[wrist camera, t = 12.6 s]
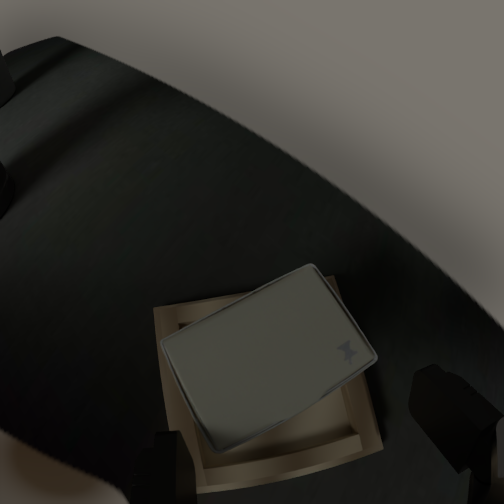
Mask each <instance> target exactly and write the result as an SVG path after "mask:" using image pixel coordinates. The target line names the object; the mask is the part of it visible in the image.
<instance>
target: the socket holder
mask: <svg viewBox="0 0 504 504" xmlns="http://www.w3.org/2000/svg"><path fill="white" fill-rule="evenodd" d="M324 278H325V279H326V280H327V281H328V283H329V284H330V285H331V287H332V288H333V289H334V291H335V292H336V294H337V295H338V297H339V298H340V299H341V301H342V298H341V295H340V292H339V289H338V286H337V283H336V280H335V277H334V275H333V276H328V277H324ZM250 292H251V291H250ZM250 292H244V293H239V294H233V295H228V296H222V297H216V298H210V299H204V300H198V301H192V302H186V303H180V304H174V305H167V306H161V307H155V308H153V309H154V320H155V330H156V340H157V349H158V357H159V365H160V373H161V380H162V387H163V394H164V400H165V406H166V412H167V418H168V424H169V430H170V431H174V430H180V432H181V434H182V436H183V438H184V440H185V443H186V445H187V447H188V450H189V452H190V454H191V456H192V459H193V462H194V466H195V472H196V491H197V493H207V492H216V491H224V490H232V489H238V488H245V487H251V486H256V485H262V484H267V483H272V482H276V481H281V480H286V479H290V478H294V477H298V476H302V475H306V474H310V473H313V472H317V471H320V470H324V469H327V468H331V467H334V466H337V465H340V464H343V463H346V462H349V461H352V460H355V459H358V458H361V457H364V456H366V455H369V454H372V453H374V452H377V451H379V450H382V449H383V445H382V441H381V437H380V432H379V428H378V424H377V420H376V416H375V412H374V408H373V404H372V400H371V397H370V393H369V389H368V385H367V382H366V378H365V374H364V371H362V372H361V373H360V374H358V375H357V376H356V377H354V378H353V379H351V380H350V381H349V382H347V383H346V384H344V385H343V386H341V387H340V388H338V389H337V390H335V391H334V392H332V393H331V394H329V395H328V396H326V397H325V398H323V399H322V400H320V401H318V402H317V403H315V404H314V405H312V406H310V407H309V408H307V409H306V410H304V411H302V412H301V413H299V414H297V415H296V416H294V417H292V418H291V419H289V420H287V421H285V422H283V423H282V424H280V425H278V426H276V427H275V428H273V429H271V430H269V431H267V432H265V433H263V434H261V435H259V436H257V437H255V438H253V439H251V440H249V441H247V442H245V443H243V444H241V445H239V446H237V447H235V448H233V449H231V450H228V451H226V452H224V453H221V454H218V453H214V452H212V451H211V450H210V448H209V446H208V445H207V443H206V441H205V439H204V438H203V436H202V434H201V432H200V430H199V428H198V427H197V425H196V423H195V421H194V419H193V417H192V415H191V413H190V411H189V409H188V407H187V405H186V403H185V401H184V399H183V397H182V395H181V393H180V391H179V388H178V386H177V384H176V382H175V379H174V377H173V375H172V372H171V370H170V368H169V365H168V363H167V360H166V358H165V356H164V353H163V351H162V349H161V346H160V341H161V340H162V339H163V338H165V337H167V336H169V335H171V334H173V333H175V332H177V331H178V330H180V329H182V328H184V327H185V326H188V325H190V324H191V323H193V322H195V321H197V320H198V319H200V318H202V317H204V316H206V315H208V314H210V313H212V312H213V311H215V310H217V309H219V308H221V307H223V306H225V305H227V304H229V303H231V302H233V301H234V300H236V299H238V298H240V297H242V296H244V295H246V294H248V293H250ZM342 302H343V301H342Z"/></svg>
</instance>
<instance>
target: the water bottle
mask: <svg viewBox="0 0 504 504" xmlns="http://www.w3.org/2000/svg"><path fill="white" fill-rule="evenodd" d="M14 92H15V84H14V82H13V80H12V77H11V75H10V73H9V70H8V68H7V65H6V63H5V61H4V58H3V56H2V53H1V50H0V107H1V106H3V105H4V104H5V103H6V102H7V101H8V100H9V99H10V98H11V97H12V95H13V94H14Z"/></svg>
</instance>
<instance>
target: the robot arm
mask: <svg viewBox="0 0 504 504" xmlns="http://www.w3.org/2000/svg"><path fill="white" fill-rule="evenodd" d="M14 185H15V184H14V181H13V179H12V178H11V176H10V175H9V173H8V172H7V170H6V169H5V168H4V166H3V164H2V163H1V161H0V217H1V216H2V215H3V213H4V212H5V210H6V209H7V207H8V205H9V203H10V202H11V199H12V197H13V193H14ZM408 405H409V411H410V413H411V415H412V417H413V418H414V419H415V421H416V422H417V423H418V424H419V426H420V427H421V428H422V429H423V431H424V432H425V433H426V434H427V435H428V437H429V438H430V439H431V440H432V442H433V443H434V444H435V445H436V447H437V448H438V449H439V450H440V452H441V453H442V454H443V455H444V457H445V458H446V459H447V460H448V462H449V463H450V464H451V465H452V467H453V468H454V469H455V470H456V472H457V473H458V474H460V473H461V472H463V471H464V470H466V469H468V468H470V470H471V471H472V472H471V474H470V480H469V491H468V501H467V504H504V415H503V414H502V413H501V412H499V411H498V410H497V409H496V408H495V407H494V406H493V405H492V404H491V403H490V402H488V401H487V400H486V399H485V398H484V397H483V396H482V395H481V394H480V393H477V391H476V390H475V389H474V388H473V387H472V386H471V387H470V384H468V383H467V382H466V381H465V380H464V379H463V378H462V377H460V376H458V375H455V374H453V373H451V372H447V373H446V372H445V371H443V370H442V369H441V368H440V367H439V366H438V365H436V364H432V365H430V366H427V367H425V368H423V369H420V370H418V371H416V372H415V373H414V376H413V382H412V387H411V392H410V397H409V404H408ZM132 485H133V487H132V490H131V499H130V504H197V491H196V472H195V466H194V462H193V459H192V456H191V454H190V452H189V450H188V447H187V445H186V443H185V440H184V438H183V436H182V434H181V432H180V430H174V431H164V432H156V434H155V439H154V448H143V450H142V451H141V453H140V454H139V456H138V457H137V459H136V460H135V467H134V476H133V482H132Z"/></svg>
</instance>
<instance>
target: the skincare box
mask: <svg viewBox="0 0 504 504" xmlns="http://www.w3.org/2000/svg"><path fill="white" fill-rule="evenodd" d="M160 346H161V349H162V351H163V353H164V356H165V358H166V360H167V363H168V365H169V368H170V370H171V372H172V375H173V377H174V379H175V382H176V384H177V386H178V388H179V391H180V393H181V395H182V397H183V399H184V401H185V403H186V405H187V407H188V409H189V411H190V413H191V415H192V417H193V419H194V421H195V423H196V425H197V427H198V428H199V430H200V432H201V434H202V436H203V438H204V439H205V441H206V443H207V445H208V446H209V448H210V450H211V451H212V452H214V453H218V454H221V453H224V452H226V451H228V450H231V449H233V448H235V447H237V446H239V445H241V444H243V443H245V442H247V441H249V440H251V439H253V438H255V437H257V436H259V435H261V434H263V433H265V432H267V431H269V430H271V429H273V428H275V427H276V426H278V425H280V424H282V423H283V422H285V421H287V420H289V419H291V418H292V417H294V416H296V415H297V414H299V413H301V412H302V411H304V410H306V409H307V408H309V407H310V406H312V405H314V404H315V403H317V402H318V401H320V400H322V399H323V398H325V397H326V396H328V395H329V394H331V393H332V392H334V391H335V390H337V389H338V388H340V387H341V386H343V385H344V384H346V383H347V382H349V381H350V380H351V379H353V378H354V377H356V376H357V375H358V374H360V373H361V372H362V371H364V370H365V369H367V368H368V367H369V366H371V365H372V364H374V363H375V362H376V361H377V360H378V356H377V354H376V352H375V351H374V349H373V348H372V346H371V345H370V343H369V342H368V340H367V338H366V337H365V335H364V334H363V332H362V331H361V329H360V328H359V326H358V325H357V323H356V321H355V320H354V318H353V317H352V316H351V314H350V313H349V311H348V310H347V308H346V307H345V305H344V304H343V302H342V301H341V299H340V298H339V297H338V295H337V294H336V292H335V291H334V289H333V288H332V287H331V285H330V284H329V283H328V281H327V280H326V279H325V278H324V277H323V275H322V274H321V273H320V271H319V270H318V269H317V267H316V266H315V265H314V264H307V265H305V266H303V267H301V268H298V269H296V270H294V271H292V272H290V273H288V274H285V275H283V276H281V277H279V278H277V279H275V280H273V281H271V282H269V283H267V284H265V285H263V286H261V287H259V288H257V289H255V290H253V291H251V292H250V293H248V294H246V295H244V296H242V297H240V298H238V299H236V300H234V301H233V302H231V303H229V304H227V305H225V306H223V307H221V308H219V309H217V310H215V311H213V312H212V313H210V314H208V315H206V316H204V317H202V318H200V319H198V320H197V321H195V322H193V323H191V324H190V325H188V326H185V327H184V328H182V329H180V330H178V331H177V332H175V333H173V334H171V335H169V336H167V337H165V338H163V339H162V340H161V341H160Z"/></svg>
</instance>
